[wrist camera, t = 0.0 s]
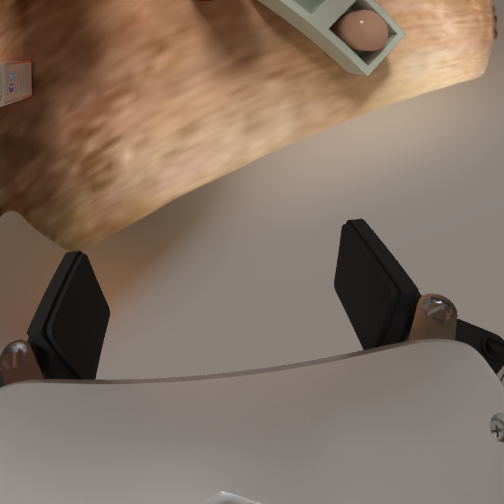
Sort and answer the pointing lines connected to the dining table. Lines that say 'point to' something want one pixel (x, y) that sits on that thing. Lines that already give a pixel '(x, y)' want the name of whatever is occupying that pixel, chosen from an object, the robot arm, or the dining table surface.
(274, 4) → the caddy
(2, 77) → the cracker box
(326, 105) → the dining table surface
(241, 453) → the robot arm
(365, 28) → the brown egg
